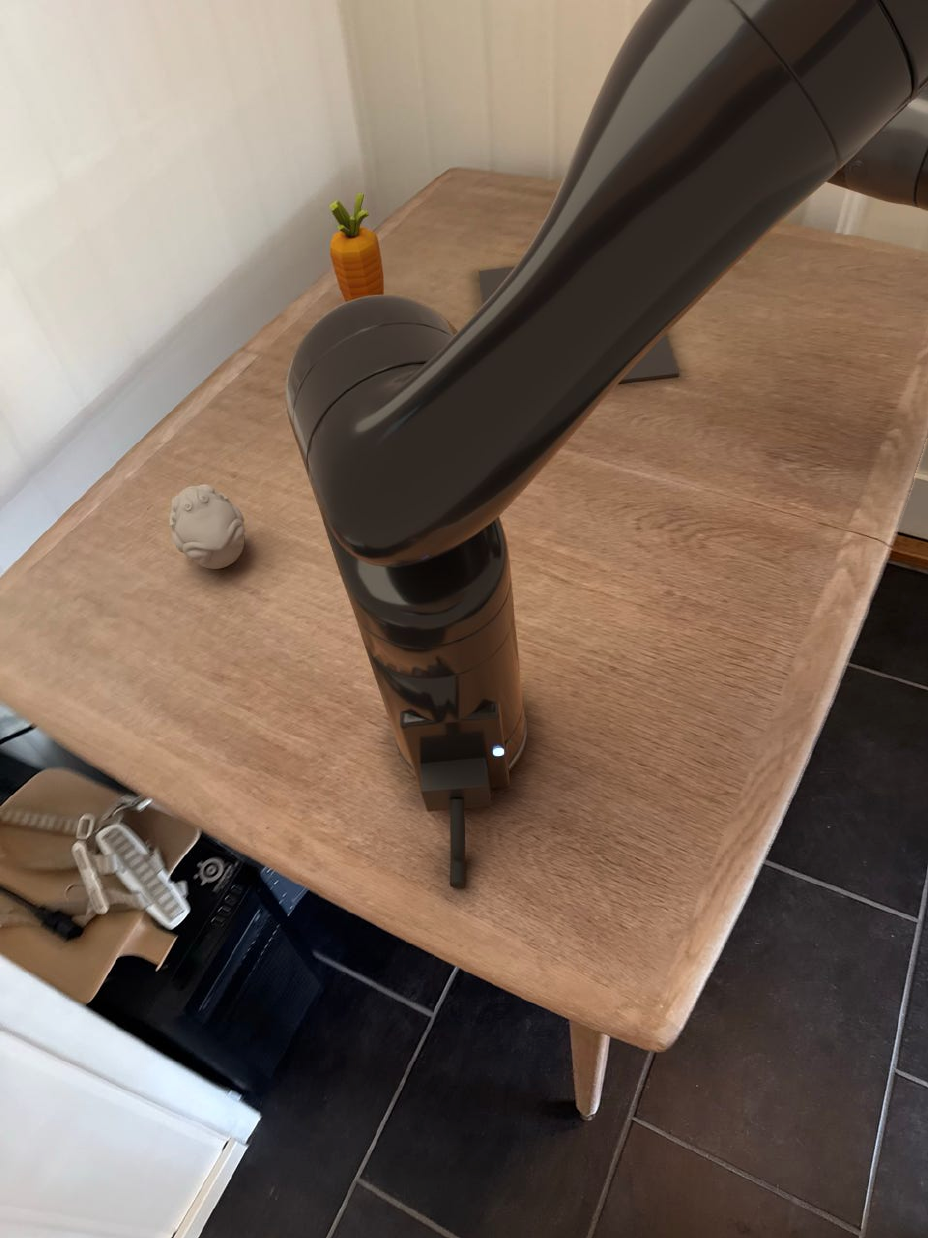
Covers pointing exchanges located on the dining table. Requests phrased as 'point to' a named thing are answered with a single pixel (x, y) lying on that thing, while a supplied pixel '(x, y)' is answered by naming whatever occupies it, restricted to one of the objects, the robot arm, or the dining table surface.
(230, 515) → the frog figurine
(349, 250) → the carrot
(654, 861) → the dining table surface
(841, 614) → the dining table surface
